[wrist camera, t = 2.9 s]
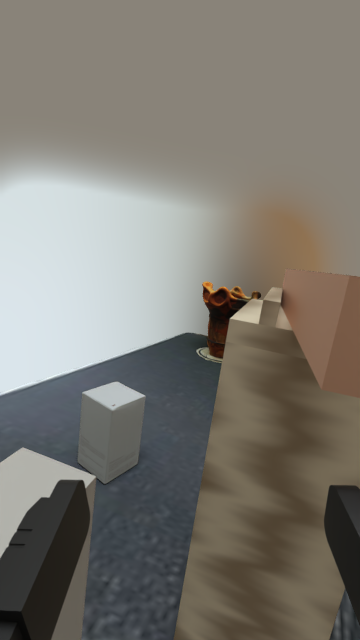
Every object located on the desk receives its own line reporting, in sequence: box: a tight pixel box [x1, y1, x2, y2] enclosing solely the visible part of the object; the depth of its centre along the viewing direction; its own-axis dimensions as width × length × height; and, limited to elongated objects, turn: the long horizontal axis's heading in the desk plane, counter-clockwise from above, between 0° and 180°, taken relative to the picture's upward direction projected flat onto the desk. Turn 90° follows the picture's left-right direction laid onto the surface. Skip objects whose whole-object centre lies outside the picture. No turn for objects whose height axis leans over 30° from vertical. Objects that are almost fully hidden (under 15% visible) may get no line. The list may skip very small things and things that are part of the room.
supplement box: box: [78, 382, 145, 484], centre depth 50 cm, size 7×7×13 cm
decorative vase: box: [196, 282, 261, 363], centre depth 116 cm, size 21×23×28 cm
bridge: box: [174, 287, 360, 640], centre depth 27 cm, size 10×14×34 cm
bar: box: [280, 269, 360, 398], centre depth 20 cm, size 4×24×4 cm, turn 165°
